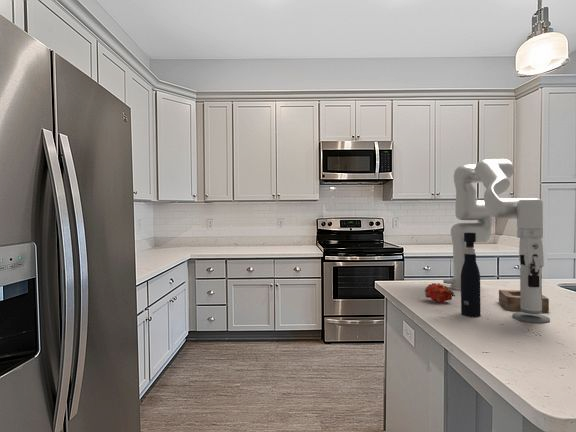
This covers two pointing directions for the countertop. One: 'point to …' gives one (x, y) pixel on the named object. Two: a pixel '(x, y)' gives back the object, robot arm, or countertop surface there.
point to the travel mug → (529, 291)
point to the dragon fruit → (438, 293)
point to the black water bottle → (470, 280)
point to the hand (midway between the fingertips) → (530, 284)
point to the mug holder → (517, 300)
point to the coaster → (531, 317)
